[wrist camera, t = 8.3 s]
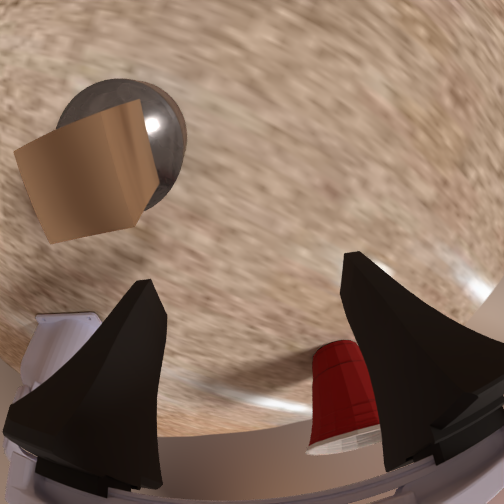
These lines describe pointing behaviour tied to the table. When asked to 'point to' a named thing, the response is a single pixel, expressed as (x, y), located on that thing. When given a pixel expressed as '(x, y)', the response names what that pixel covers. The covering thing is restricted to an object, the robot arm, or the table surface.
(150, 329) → the robot arm
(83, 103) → the grey metal cylinder
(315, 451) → the plastic cup
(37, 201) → the walnut block
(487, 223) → the table surface
